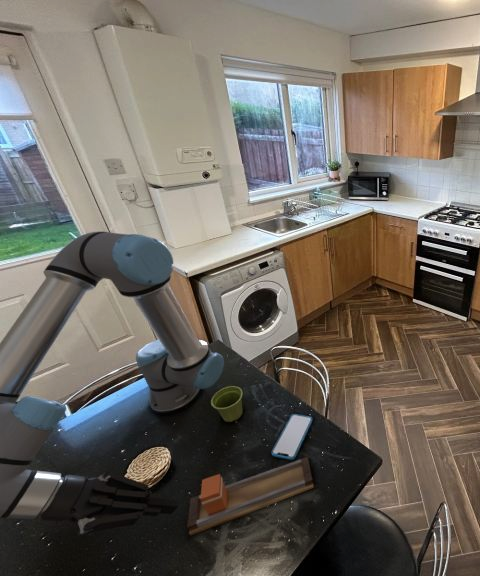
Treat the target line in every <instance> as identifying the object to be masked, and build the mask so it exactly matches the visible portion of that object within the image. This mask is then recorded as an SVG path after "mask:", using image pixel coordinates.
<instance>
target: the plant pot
mask: <svg viewBox="0 0 480 576" xmlns="http://www.w3.org/2000/svg"><path fill="white" fill-rule="evenodd" d="M243 394H244V393H243V390H242V388H240V387H239V386H234V385H229V386H226V387H223V388H222V389H220V390H218V391H216V392H215V393H214V395H213V396H212V397H211V400H210V404H211V407H212V408H214V409H216V410H217V412H218V413H219V415H220V416H221V418H222V419H223V421H224V422H227V423H232V422H233V421H237V420H238V419H240V418H241V416H242V415H243V403H242V401H243V400H242V397H243Z"/></svg>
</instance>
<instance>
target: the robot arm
mask: <svg viewBox="0 0 480 576" xmlns="http://www.w3.org/2000/svg"><path fill="white" fill-rule="evenodd" d="M172 265H174V258H173V254H172V253H171V251H170V249H169V248H168V247H167V245H165V243H163V242H162V241H160V240H159V239H156V238H155V237H151V236H146V235H143V234H137V233H131V234H127V233H117V232H109V231H104V230H102V231H100V230H99V231H97V230H96V231H91V232H86V233H84V234H81V235H78V236H77V237H75V238H74V239H72V240H70V241H69V242H68V243H66V245H65V246H63V247H62V248H61V249H60V250H59V251H58V252H57V253H56V255H55V256H54V257H53V258H52V259H51V261H50V262H49V263H48V264H47V266H46V267H45V269H44V270H43V271H42V272H43V275H44V277H45V279H44V280H43V281H42V283H41V285H40V286H39V287H38V288H37V290H36V292H35V293H34V295H33V296H32V297H31V299H29V302H28V303H27V305H26V306H25V307H24V309H23V310H22V311H21V313H20V314H19V315H18V317H17V318H16V320H15V321H14V323H13V324H12V326H11V327H10V329H8V331H7V333H6V334H5V335H4V337H3V338H2V340H1V341H0V518H1V519H16V520H35V519H36V518H37V517H38V518H39V520H40V521H49V522H50V521H51V522H63V521H69V522H71V523H73V524H77V525H78V528H79V531H78V533H77V536H78V537H79V538H82V537H85V536H87V535H89V534H91V533H94V532H99V531H105V530H111V529H116V528H123V527H129V526H133V525H135V524H136V523H137V522H138V521H139V519H141V517H142V516H147V517H149V516H150V517H156V516H158V515H159V514H164V515H173V513H174V512H175V511H176V510H177V509H178V508H179V505H180V500H178V499H170V498H164V496H163V495H159V494H153V492H152V490H150V489H149V488H150V486H149V485H148V484H146V483H143V482H140V481H137V480H134V479H132V478H130V477H126V476H124V475H121V474H118V473H116V472H115V471H114V470H113V469H112V468H107V469H106V470H104V472H103V473H102V474H101V475H99V476H98V477H91V478H87V477H86V476H83V475H74V474H66V475H64V476H63V475H62V473H60V472H53V471H52V472H51V471H45V470H44V471H42V470H34V469H29V468H28V467H29V466H30V464H31V463H32V462H33V460H34V459H35V458H36V456H37V454H38V453H39V451H40V450H41V449H42V447H43V446H44V445H45V444H46V442H47V440H49V439H48V438H50V436H51V435H52V433H53V432H54V430H55V429H57V427H58V424H59V422H60V421H61V420H62V418H63V416H64V414H65V413H66V411H67V405H65V404H64V403H61V402H55V401H52V400H47V399H43V398H38V397H34V396H30V395H29V396H23V397H21V398H20V396H21V395H22V394H23V392H24V390H25V389H26V387H27V385H28V384H29V382H30V381H31V379H32V377H33V376H34V375H35V373H36V372H37V370H38V368H39V367H40V366H41V363H42V362H43V361H44V359H45V358H46V355H47V354H48V353H49V351H50V350H51V348H52V347H53V345H54V343H55V341H56V340H57V339H58V337H59V335H60V334H61V332H62V330H63V329H64V327H65V326H66V324H67V323H68V321H69V320H70V318H71V317H72V315H73V313H74V312H75V310H76V309H77V307H78V306H79V305H80V302H81V301H82V299H83V298H84V297H85V295H86V294H87V292H89V291H93V290H95V288H96V287H97V286H98V284H99V283H100V281H102V280H103V279H104V280H110V281H111V282H112V284H113V285H114V287H115V288H116V290H117V291H118V292H119V294H120V295H121V296H123V297H126V298H131V299H132V300H133V302H134V303H135V305H136V306H137V308H138V309H139V311H140V312H141V315H143V317H144V319H145V320H146V322H147V324H148V325H149V326H150V328H151V329H152V331H153V333H154V334H155V336H156V338H157V339H156V340H153V341H151V342H149V343H147V344H145V345H144V346H143V347H142V348H141V349H139V350H138V351H137V352H136V355H135V361H136V365H137V367H138V368H139V370H140V372H141V374H142V376H143V378H144V380H145V382H146V384H147V386H148V388H149V398H148V399H149V406H150V408H151V409H152V411H153V412H154V413H156V414H161V415H163V414H172V413H176V412H179V411H181V410H183V409H184V408H186V407H188V406H189V405H190V404H192V403H193V402H194V401H195V400H196V399H197V398H198V396H199V395H200V391H201V390H206V389H210V388H211V387H213V386H214V385H215V384H216V383H217V382H218V380H219V379H220V377H221V375H222V373H223V370H224V365H225V359H224V357H223V356H222V354H220V353H218V352H212V351H211V348H210V346H209V345H208V343H207V342H206V341H204V340H203V339H199V338H198V336H197V334H196V332H195V331H194V329H193V327H192V325H191V323H190V321H189V319H188V317H187V315H186V313H185V312H184V310H183V309H182V306H181V305H180V303H179V301H178V299H177V297H176V295H175V294H174V292H173V290H172V288H171V287H170V284H169V283H170V282H171V280H172V273H173V270H174V267H173V266H172ZM19 398H20V399H19ZM105 515H107V516H105ZM95 516H99V517H97V518H95ZM100 516H101V517H100Z"/></svg>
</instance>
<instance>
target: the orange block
mask: <svg viewBox="0 0 480 576" xmlns="http://www.w3.org/2000/svg"><path fill="white" fill-rule="evenodd" d="M225 486H226V485H225V483H224V479H223V476H221V473H219V474H216V475H212V476H209V477H207V478H203V479H202V480H201V490H200V495H201V498H200V499H201V501H202V505H204V507H205V509H206V511H207V513H208V515H209V516H210V515H212V514H215V513H218V512H220V511H223V510H226V509H228V492H227V490H226V487H225Z"/></svg>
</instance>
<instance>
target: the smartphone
mask: <svg viewBox="0 0 480 576" xmlns="http://www.w3.org/2000/svg"><path fill="white" fill-rule="evenodd" d="M312 423H313V417H312V416H308V415H304V414H297V413H293V414H291V415H290V417H289V419H288V420H287V422H286V424H285V426H284V428H283V430H282V432H281V433H280V435H279V437H278V439H277V441H276V442H275V444H274V446H273V448H272V450H271V456H272V457H275V458H280V459H285V460H291V461H293V460H295V459H296V457H297V455H298V453H299V451H300V449H301V446H302V445H303V442H304V441H305V438H306V436H307V434H308V431H309V429H310V428H311V426H312Z"/></svg>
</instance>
